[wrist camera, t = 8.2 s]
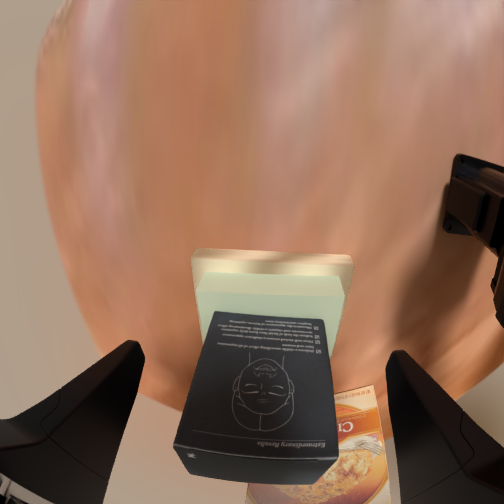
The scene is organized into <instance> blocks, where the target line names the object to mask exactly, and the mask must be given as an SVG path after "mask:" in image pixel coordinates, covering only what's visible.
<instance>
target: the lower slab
mask: <svg viewBox="0 0 504 504" xmlns="http://www.w3.org/2000/svg"><path fill="white" fill-rule="evenodd" d="M191 266H192V274H193V281H194V289H195V296H196V303H197V310H198V317H199V323H200V330H201V336H202V342H203V344H204V341H205V340H204V335H203V330H202V324H201V318H200V313H199V307H198V301H197V295H196V289H197V287H198V285H199V283H200V281H201V278H202V276H203V274H204V272H224V273H249V274H278V275H314V276H339V278H340V281H341V284H342V288H343V291H344V295H345V297H344V302H343V307H342V312H341V317H340V321H339V326H338V330H337V334H336V338H335V343H336V340H337V336H338V333H339V329H340V325H341V321H342V317H343V313H344V309H345V305H346V301H347V297H348V293H349V288H350V284H351V279H352V274H353V270H354V265H353V262H352V260H351V257H350V255H334V254H314V253H293V252H272V251H251V250H230V249H209V248H196V250H195V252H194V253H193V255H192V257H191ZM335 343H334V347H335ZM334 347H333V350H334ZM332 354H333V351H332ZM332 354H331V357H332ZM330 360H331V358H330Z"/></svg>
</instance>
